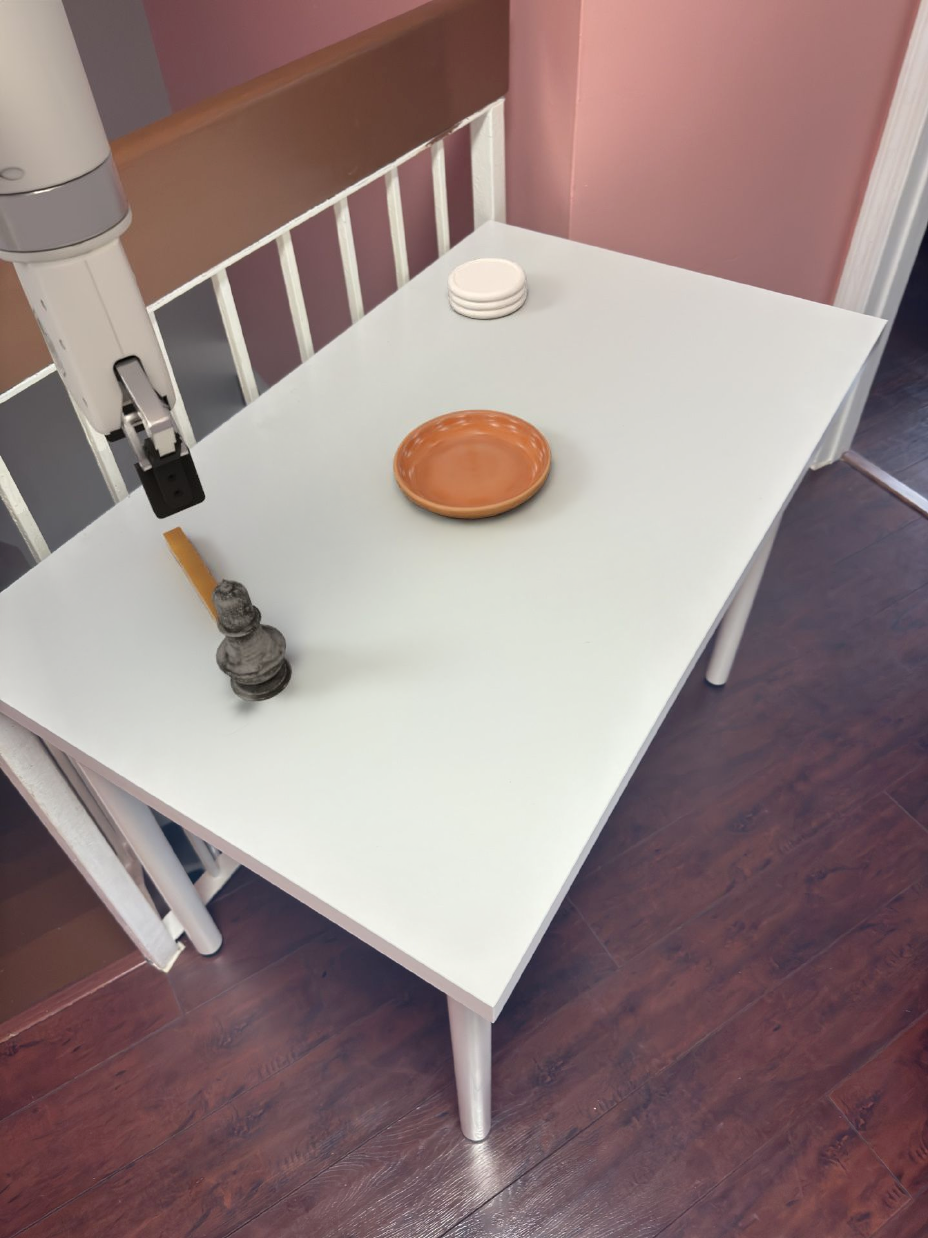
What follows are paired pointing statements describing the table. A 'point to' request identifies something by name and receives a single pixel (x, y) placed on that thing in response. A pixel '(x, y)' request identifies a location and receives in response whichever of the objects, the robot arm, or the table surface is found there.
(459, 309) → the coaster
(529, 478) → the saucer
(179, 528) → the golden stick
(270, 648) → the salt shaker
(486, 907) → the table surface
